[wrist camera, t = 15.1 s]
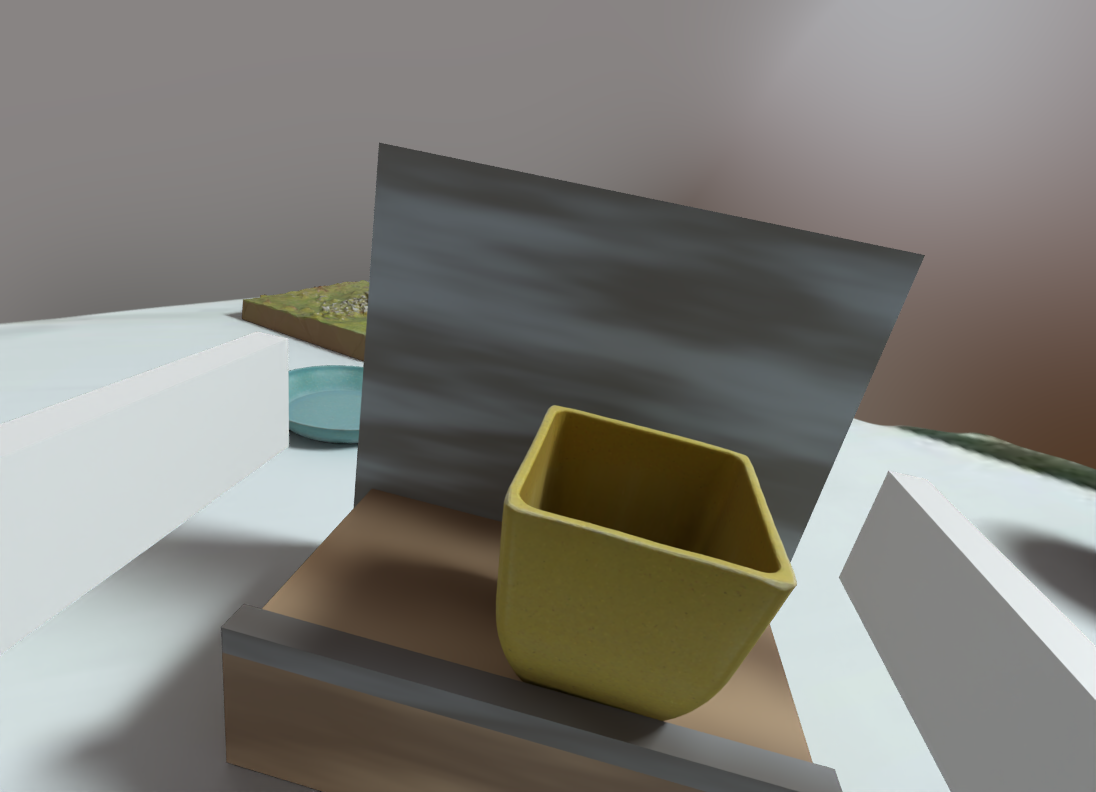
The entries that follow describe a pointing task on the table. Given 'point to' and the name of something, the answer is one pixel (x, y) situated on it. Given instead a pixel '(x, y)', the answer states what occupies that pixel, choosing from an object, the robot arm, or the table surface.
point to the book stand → (497, 453)
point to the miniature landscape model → (317, 315)
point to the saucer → (326, 402)
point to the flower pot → (634, 565)
